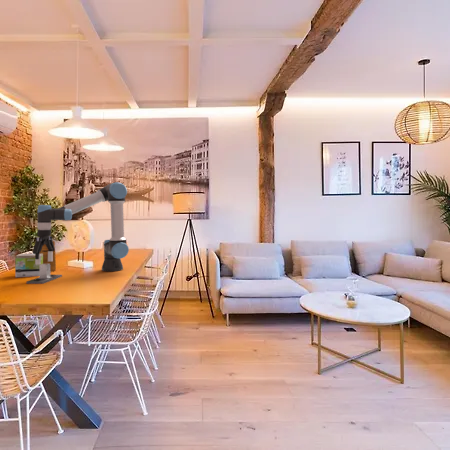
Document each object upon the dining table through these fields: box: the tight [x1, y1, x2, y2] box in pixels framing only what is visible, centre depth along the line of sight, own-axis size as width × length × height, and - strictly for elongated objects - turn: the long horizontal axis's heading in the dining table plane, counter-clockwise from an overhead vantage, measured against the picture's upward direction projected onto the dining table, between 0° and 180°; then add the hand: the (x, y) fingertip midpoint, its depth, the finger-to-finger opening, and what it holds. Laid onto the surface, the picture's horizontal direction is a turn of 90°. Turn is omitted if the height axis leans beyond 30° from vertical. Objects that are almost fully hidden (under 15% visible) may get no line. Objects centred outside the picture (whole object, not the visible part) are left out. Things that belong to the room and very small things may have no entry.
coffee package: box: [39, 240, 57, 272], centre depth 235 cm, size 10×12×22 cm
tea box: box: [14, 253, 43, 278], centre depth 217 cm, size 15×10×15 cm
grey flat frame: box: [26, 274, 63, 285], centre depth 203 cm, size 22×10×2 cm, turn 179°
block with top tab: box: [37, 264, 52, 279], centre depth 202 cm, size 4×7×10 cm, turn 89°
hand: (44, 262), depth 202 cm, fingers open, 13 cm apart
